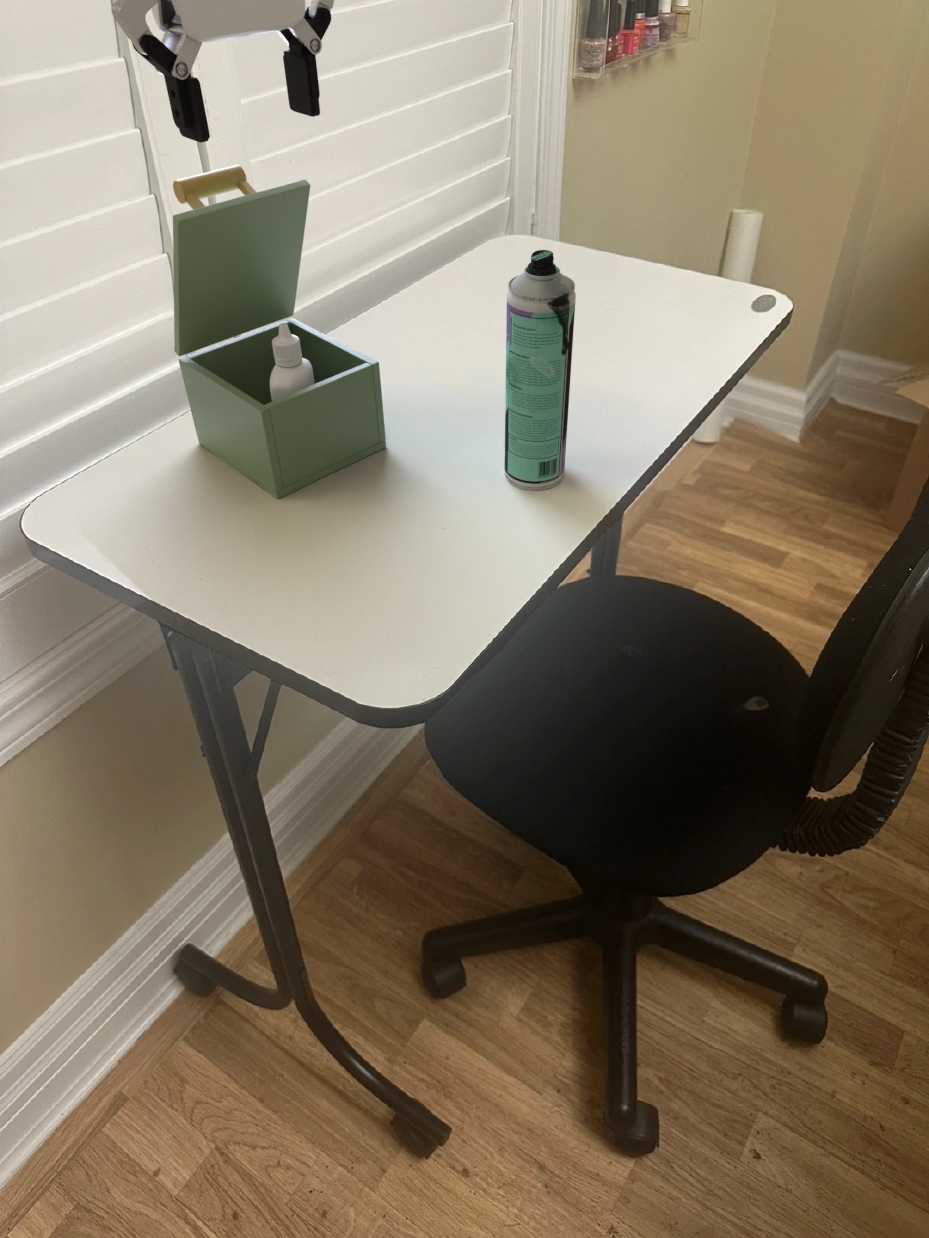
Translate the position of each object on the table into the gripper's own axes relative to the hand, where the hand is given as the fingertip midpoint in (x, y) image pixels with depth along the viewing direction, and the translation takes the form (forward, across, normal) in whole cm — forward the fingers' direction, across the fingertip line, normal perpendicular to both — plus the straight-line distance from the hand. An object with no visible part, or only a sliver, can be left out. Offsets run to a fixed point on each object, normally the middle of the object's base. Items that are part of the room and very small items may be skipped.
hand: (252, 125), depth 68 cm
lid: (+13, 0, -6) cm, 14 cm away
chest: (+28, 0, -2) cm, 28 cm away
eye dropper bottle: (+28, 0, 0) cm, 28 cm away
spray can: (+28, -13, +18) cm, 36 cm away
